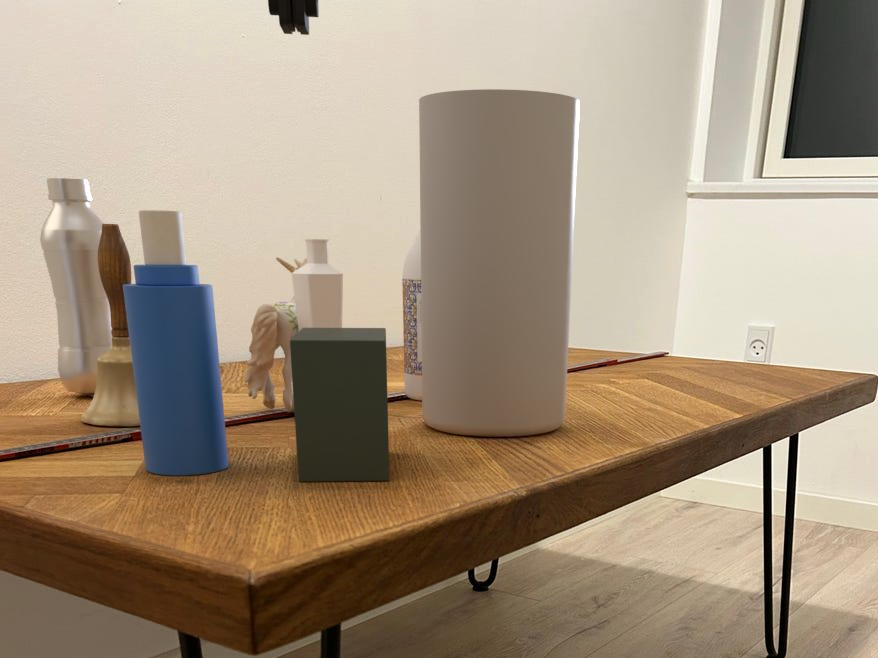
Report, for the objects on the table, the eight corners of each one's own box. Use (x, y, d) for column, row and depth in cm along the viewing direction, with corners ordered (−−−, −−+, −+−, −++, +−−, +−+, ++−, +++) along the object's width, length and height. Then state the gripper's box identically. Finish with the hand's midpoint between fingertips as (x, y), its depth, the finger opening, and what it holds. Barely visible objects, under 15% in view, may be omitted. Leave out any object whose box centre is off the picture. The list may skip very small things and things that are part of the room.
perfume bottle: (343, 410, 90) (336, 239, 84) (356, 417, 86) (349, 239, 80) (295, 412, 88) (285, 238, 83) (306, 420, 85) (296, 238, 79)
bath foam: (423, 391, 103) (421, 187, 95) (481, 395, 100) (484, 186, 92) (392, 399, 97) (387, 183, 89) (453, 404, 94) (453, 182, 86)
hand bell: (165, 409, 89) (144, 225, 83) (191, 422, 83) (171, 224, 77) (72, 416, 85) (43, 223, 79) (93, 430, 79) (62, 221, 72)
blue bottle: (162, 510, 65) (2, 291, 58) (179, 491, 70) (32, 287, 64) (307, 423, 63) (158, 189, 57) (313, 410, 68) (177, 194, 62)
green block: (298, 481, 62) (289, 340, 59) (309, 451, 72) (302, 327, 68) (389, 481, 63) (385, 340, 60) (388, 451, 72) (385, 327, 69)
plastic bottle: (69, 391, 99) (37, 180, 92) (136, 390, 101) (110, 182, 93) (55, 400, 94) (20, 176, 86) (126, 399, 95) (98, 178, 87)
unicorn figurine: (351, 391, 102) (346, 257, 97) (326, 421, 84) (318, 260, 79) (285, 390, 102) (276, 257, 97) (245, 420, 84) (232, 259, 79)
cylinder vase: (451, 442, 76) (452, 84, 66) (404, 417, 86) (398, 106, 77) (589, 433, 80) (609, 96, 70) (528, 411, 91) (537, 115, 81)
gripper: (411, -309, 57) (412, 47, 64) (156, -328, 55) (186, 37, 62) (413, -386, 50) (414, 22, 57) (122, -410, 48) (159, 10, 55)
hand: (294, 29), depth 60 cm, fingers closed
